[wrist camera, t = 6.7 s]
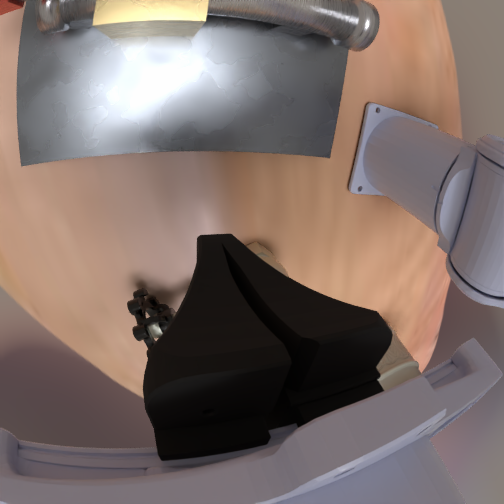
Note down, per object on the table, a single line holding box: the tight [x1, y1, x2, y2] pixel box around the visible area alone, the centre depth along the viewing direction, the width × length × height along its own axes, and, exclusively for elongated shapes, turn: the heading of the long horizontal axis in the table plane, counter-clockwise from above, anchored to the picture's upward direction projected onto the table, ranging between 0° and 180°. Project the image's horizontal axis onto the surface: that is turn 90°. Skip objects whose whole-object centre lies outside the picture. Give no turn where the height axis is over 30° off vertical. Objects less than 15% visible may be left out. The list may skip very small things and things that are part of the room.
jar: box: [376, 323, 421, 391], centre depth 33 cm, size 13×13×18 cm
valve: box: [127, 242, 289, 358], centre depth 22 cm, size 7×7×12 cm
